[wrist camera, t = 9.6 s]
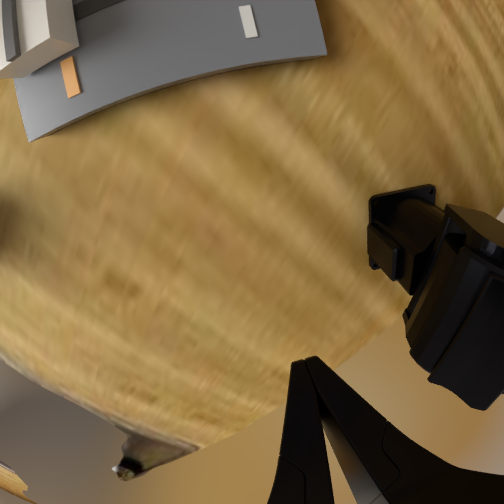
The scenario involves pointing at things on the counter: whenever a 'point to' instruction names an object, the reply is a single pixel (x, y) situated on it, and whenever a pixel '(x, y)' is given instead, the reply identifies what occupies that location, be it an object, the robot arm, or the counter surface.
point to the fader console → (160, 52)
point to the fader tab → (34, 34)
